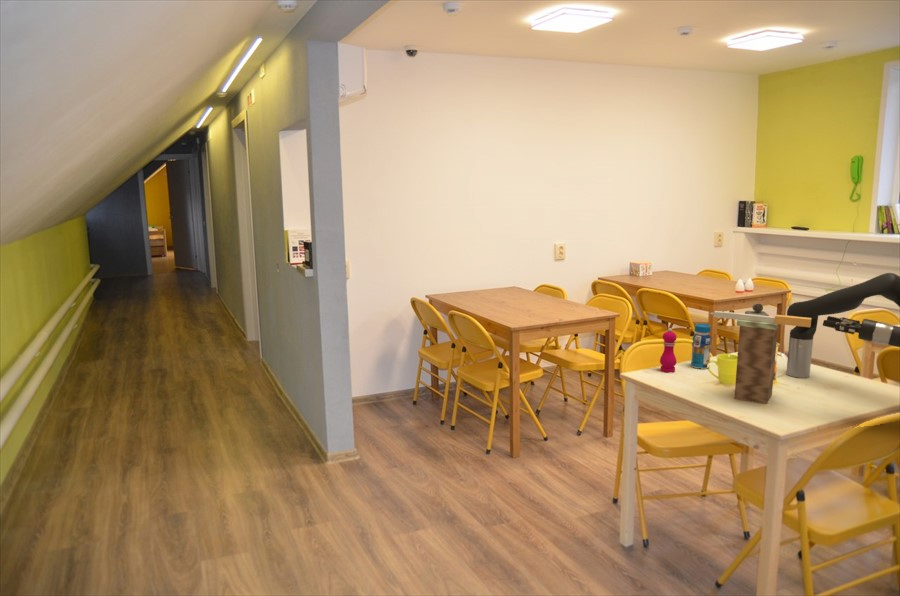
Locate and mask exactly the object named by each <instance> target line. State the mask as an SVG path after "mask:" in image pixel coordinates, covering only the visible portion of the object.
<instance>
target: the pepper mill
mask: <svg viewBox="0 0 900 596" xmlns="http://www.w3.org/2000/svg"><path fill="white" fill-rule="evenodd" d="M662 340H663V348H664V349H663V352H662V354H661V356H660V359H659V363H660V371H661V372H664V373H668V372H672V373H675V371H676V367H675V366H676V365H677V357H676V355H675V351H674V348H675V346H676V340H677V334H676V333H675V332H674V331H673V329H672V328H671V327H668V328H667V331H665V332H664V333H663V334H662Z"/></svg>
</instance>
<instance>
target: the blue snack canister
mask: <svg viewBox="0 0 900 596" xmlns="http://www.w3.org/2000/svg"><path fill="white" fill-rule="evenodd" d="M711 328H712V327H711V325H710V324H709V323H708V324H707V323H696V324H695V325H694V332H695V333H694V334H693V336H692V342H691V360H690V366H691V367H692V368H693V367H695V368H694V369H697V368H701V369H700V370H707V364H708V363H710V362H711V361H710V360H711V349H712V338H711V336H710V333H711Z"/></svg>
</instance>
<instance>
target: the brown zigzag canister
mask: <svg viewBox="0 0 900 596" xmlns="http://www.w3.org/2000/svg"><path fill="white" fill-rule="evenodd" d="M780 325H781V324H774V323H765V322H755V321H746V320H736V326H738V327H739V335H738V345H737V359H736V372H735V386H734V395H733V396H734V397H733V398H734V399H735V400H741V401H747V402H752V401H753V403H758V402H759V403H758V404H764V403H765V404H766V405H768V404H767V403H769V402H768V401H770V400H771V397H772V396H773V388H774V376H775V365H776V354H777V353H776V352H777V342H778V341H777V340H778V331H779V326H780ZM765 404H764V405H765Z"/></svg>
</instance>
